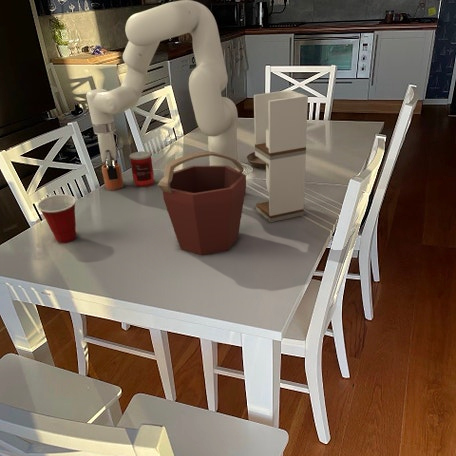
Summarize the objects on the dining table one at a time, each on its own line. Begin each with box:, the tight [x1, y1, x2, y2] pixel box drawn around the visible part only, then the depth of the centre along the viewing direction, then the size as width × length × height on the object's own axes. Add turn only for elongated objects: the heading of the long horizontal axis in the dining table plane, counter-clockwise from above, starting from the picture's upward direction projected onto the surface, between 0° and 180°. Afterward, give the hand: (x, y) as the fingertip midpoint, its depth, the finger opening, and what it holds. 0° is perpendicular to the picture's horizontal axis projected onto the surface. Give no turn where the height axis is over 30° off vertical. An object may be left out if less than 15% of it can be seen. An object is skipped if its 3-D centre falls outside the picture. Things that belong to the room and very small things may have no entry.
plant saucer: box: [246, 151, 266, 169], centre depth 191 cm, size 18×18×3 cm
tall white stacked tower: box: [253, 89, 309, 223], centre depth 142 cm, size 11×11×35 cm
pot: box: [101, 162, 125, 191], centre depth 177 cm, size 7×7×8 cm
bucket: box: [157, 150, 247, 256], centre depth 131 cm, size 24×22×25 cm
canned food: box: [129, 150, 155, 188], centre depth 177 cm, size 8×8×11 cm
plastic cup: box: [36, 193, 77, 244], centre depth 140 cm, size 11×11×12 cm
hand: (114, 174), depth 176 cm, fingers open, 9 cm apart
